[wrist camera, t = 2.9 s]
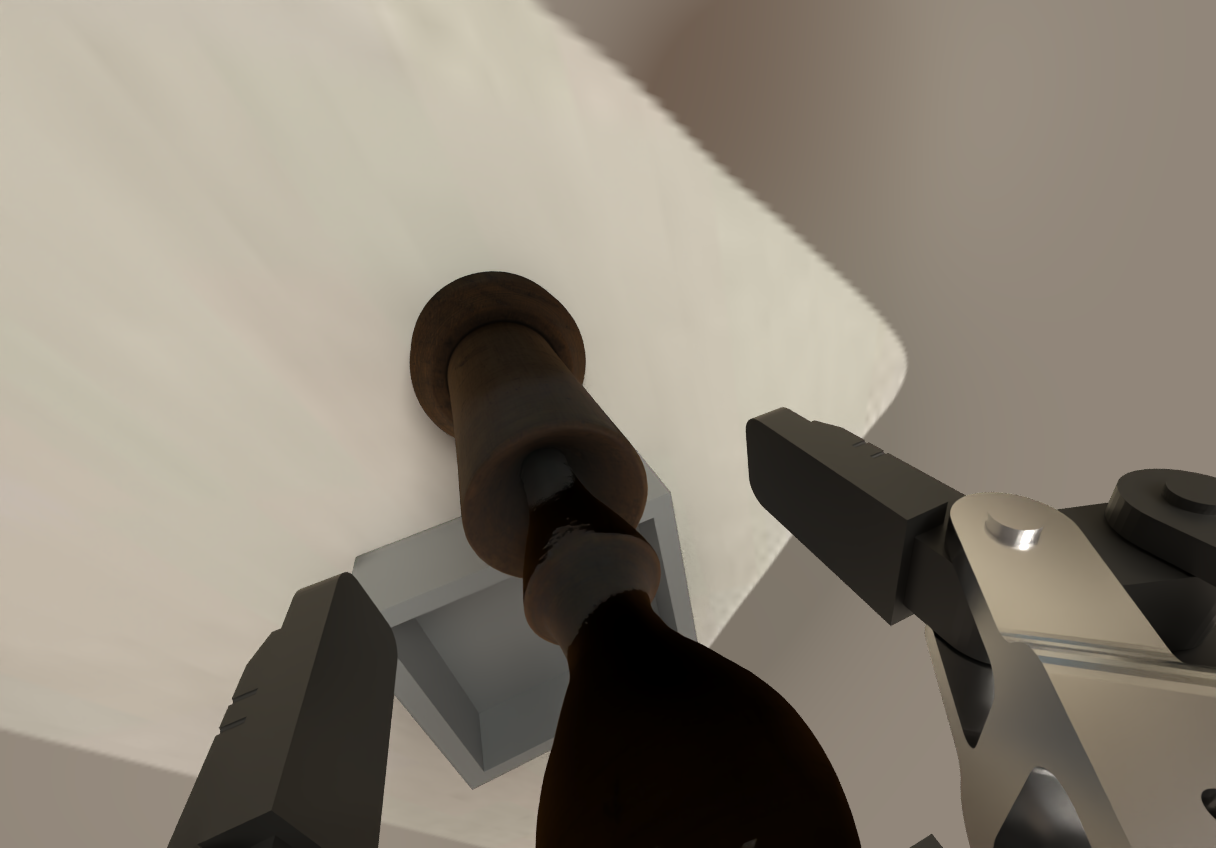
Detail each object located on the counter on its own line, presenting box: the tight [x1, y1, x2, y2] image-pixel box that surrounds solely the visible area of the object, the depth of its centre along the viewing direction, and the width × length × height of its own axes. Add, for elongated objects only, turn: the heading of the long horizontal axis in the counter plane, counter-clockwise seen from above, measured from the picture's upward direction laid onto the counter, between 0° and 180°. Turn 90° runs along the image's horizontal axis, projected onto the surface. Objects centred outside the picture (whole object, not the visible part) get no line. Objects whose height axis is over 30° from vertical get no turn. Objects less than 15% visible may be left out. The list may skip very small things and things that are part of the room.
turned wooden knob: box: [410, 271, 861, 848], centre depth 11 cm, size 7×6×18 cm
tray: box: [352, 450, 698, 790], centre depth 23 cm, size 14×14×4 cm
